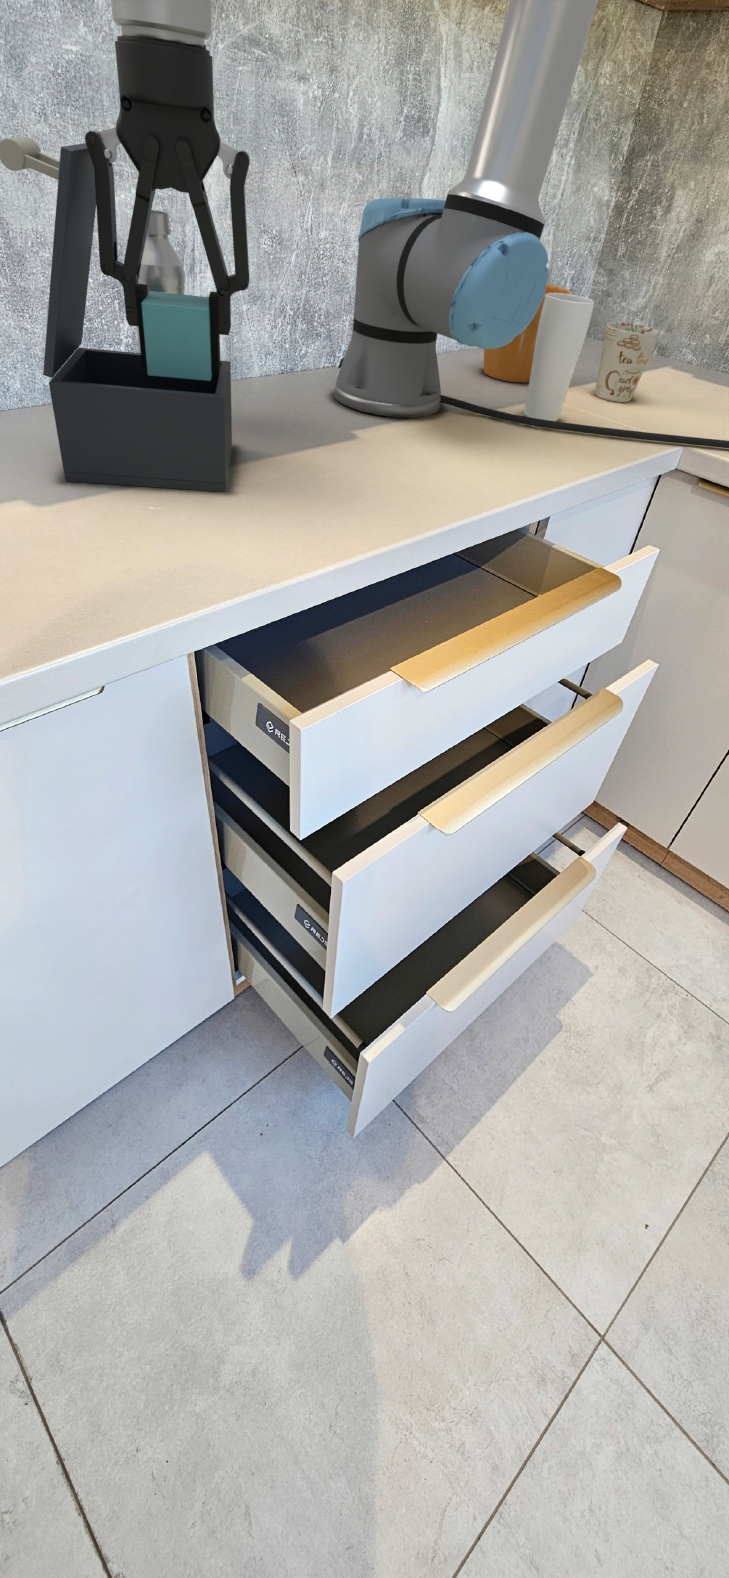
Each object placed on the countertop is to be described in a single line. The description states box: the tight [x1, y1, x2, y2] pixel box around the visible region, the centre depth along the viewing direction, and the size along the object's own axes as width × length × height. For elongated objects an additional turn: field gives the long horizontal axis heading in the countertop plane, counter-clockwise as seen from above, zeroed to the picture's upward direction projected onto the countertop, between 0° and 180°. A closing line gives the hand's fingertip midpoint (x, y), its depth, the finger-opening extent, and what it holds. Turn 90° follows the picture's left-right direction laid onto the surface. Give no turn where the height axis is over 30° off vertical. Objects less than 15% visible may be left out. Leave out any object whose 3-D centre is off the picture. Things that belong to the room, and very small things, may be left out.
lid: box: [0, 136, 97, 379], centre depth 66 cm, size 17×14×6 cm
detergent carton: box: [141, 291, 212, 381], centre depth 71 cm, size 6×6×6 cm
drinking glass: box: [523, 293, 595, 422], centre depth 103 cm, size 7×7×15 cm
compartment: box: [48, 347, 233, 493], centre depth 76 cm, size 16×14×9 cm
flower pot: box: [483, 283, 573, 383], centre depth 121 cm, size 14×14×13 cm
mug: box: [594, 321, 660, 403], centre depth 120 cm, size 8×13×10 cm, turn 158°
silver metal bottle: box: [135, 209, 186, 353], centre depth 85 cm, size 6×7×20 cm
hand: (182, 367), depth 73 cm, fingers closed on detergent carton, 6 cm apart
